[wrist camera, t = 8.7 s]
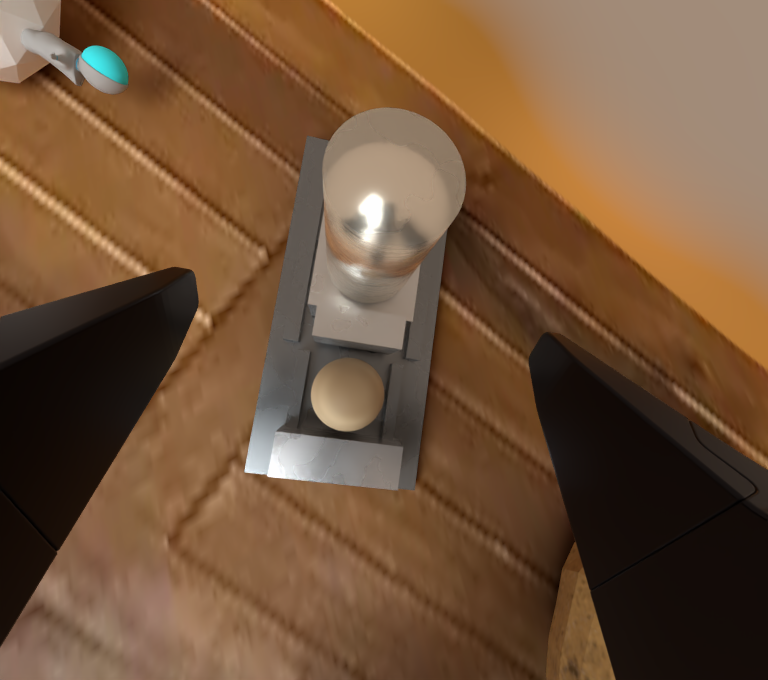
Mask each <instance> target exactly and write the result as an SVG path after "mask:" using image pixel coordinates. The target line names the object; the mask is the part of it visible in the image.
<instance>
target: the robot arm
mask: <svg viewBox="0 0 768 680" xmlns="http://www.w3.org/2000/svg"><path fill="white" fill-rule="evenodd" d="M198 302H199V300H198V292H197V285H196V278H195V274H194V272H193V271H192V270H190V269H185V268H179V267H171V268H167V269H164V270H160V271H157V272H154V273H150V274H147V275H143V276H140V277H136V278H133V279H129V280H126V281H122V282H119V283H115V284H112V285H109V286H105V287H102V288H98V289H95V290H91V291H88V292H84V293H81V294H77V295H74V296H71V297H67V298H64V299H60V300H57V301H53V302H50V303H46V304H43V305H39V306H36V307H32V308H29V309H26V310H22V311H19V312H15V313H12V314H8V315H5V316H2V317H1V318H0V647H1V645H2V644H3V642H4V641H5V639H6V637H7V636H8V634H9V632H10V631H11V629H12V627H13V626H14V624H15V622H16V621H17V619H18V617H19V616H20V614H21V613H22V611H23V609H24V608H25V606H26V604H27V603H28V601H29V599H30V598H31V596H32V594H33V593H34V591H35V590H36V588H37V586H38V585H39V583H40V581H41V580H42V578H43V576H44V575H45V573H46V571H47V570H48V568H49V566H50V565H51V563H52V562H53V560H54V558H55V557H56V555H57V551H58V550H59V549H60V548H61V546H62V544H63V543H64V541H65V540H66V538H67V536H68V535H69V533H70V531H71V530H72V528H73V526H74V525H75V523H76V521H77V520H78V518H79V517H80V515H81V513H82V512H83V510H84V508H85V507H86V505H87V503H88V502H89V500H90V498H91V497H92V495H93V493H94V492H95V490H96V489H97V487H98V485H99V484H100V482H101V480H102V479H103V477H104V475H105V474H106V472H107V470H108V469H109V467H110V466H111V464H112V462H113V461H114V459H115V457H116V456H117V454H118V452H119V451H120V449H121V447H122V446H123V444H124V442H125V441H126V439H127V438H128V436H129V434H130V433H131V431H132V429H133V428H134V426H135V424H136V423H137V421H138V419H139V418H140V416H141V414H142V413H143V411H144V410H145V408H146V406H147V405H148V403H149V401H150V400H151V398H152V396H153V395H154V393H155V391H156V390H157V388H158V387H159V385H160V383H161V382H162V380H163V378H164V377H165V375H166V373H167V372H168V370H169V368H170V367H171V365H172V363H173V362H174V360H175V358H176V356H177V354H178V352H179V350H180V347H181V345H182V343H183V340H184V338H185V336H186V334H187V331H188V329H189V327H190V324H191V322H192V320H193V318H194V315H195V313H196V311H197V308H198ZM529 367H530V373H531V379H532V385H533V391H534V396H535V402H536V407H537V412H538V415H539V419H540V423H541V426H542V429H543V433H544V436H545V440H546V443H547V446H548V450H549V453H550V457H551V460H552V463H553V467H554V470H555V474H556V477H557V481H558V484H559V487H560V491H561V494H562V498H563V501H564V504H565V508H566V511H567V515H568V518H569V522H570V525H571V528H572V532H573V535H574V539H575V542H576V545H577V549H578V552H579V556H580V559H581V562H582V566H583V569H584V573H585V576H586V580H587V583H588V586H589V589H590V590H591V591H590V594H591V597H592V601H593V604H594V608H595V611H596V615H597V618H598V621H599V625H600V628H601V632H602V635H603V638H604V642H605V645H606V649H607V652H608V656H609V659H610V662H611V666H612V669H613V673H614V676H615V680H768V470H767V469H765V468H764V467H762V466H760V465H759V464H757V463H756V462H754V461H752V460H751V459H749V458H748V457H746V456H744V455H743V454H741V453H740V452H738V451H736V450H735V449H733V448H732V447H730V446H729V445H727V444H726V443H724V442H723V441H721V440H719V439H718V438H716V437H715V436H713V435H712V434H710V433H709V432H707V431H706V430H704V429H703V428H701V427H700V426H698V425H697V424H695V423H694V422H692V421H688V419H687V418H686V417H685V416H683V415H682V414H680V413H679V412H677V411H676V410H674V409H673V408H671V407H670V406H668V405H667V404H665V403H664V402H662V401H661V400H659V399H658V398H656V397H655V396H653V395H652V394H650V393H649V392H647V391H646V390H644V389H643V388H641V387H640V386H638V385H637V384H635V383H634V382H632V381H631V380H629V379H628V378H626V377H625V376H623V375H622V374H620V373H619V372H617V371H616V370H614V369H613V368H611V367H610V366H608V365H607V364H605V363H604V362H602V361H601V360H599V359H598V358H596V357H595V356H593V355H592V354H590V353H589V352H587V351H586V350H584V349H583V348H581V347H580V346H578V345H577V344H575V343H574V342H572V341H571V340H569V339H568V338H566V337H565V336H563V335H561V334H557V333H551V332H546V333H544V334H543V335H542V336H541V338H540V339H539V341H538V342H537V344H536V346H535V347H534V349H533V351H532V352H531V354H530V357H529Z"/></svg>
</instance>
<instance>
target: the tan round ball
mask: <svg viewBox="0 0 768 680" xmlns="http://www.w3.org/2000/svg"><path fill="white" fill-rule="evenodd" d="M311 401H312V406H313V408H314V411H315V413H316V415H317V416H318V417H319V419H320V420H321V421H322V422H323V423H324V424H326V425H327V426H329V427H330V428H333V429H335V430H339V431H355V430H359V429H361V428H364V427H365V426H367V425H369V424H370V423H371V422H372V421H373V420H374V419H375V418H376V417H377V415H378V414H379V412H380V410H381V408H382V405H383V402H384V386H383V382H382V380H381V378H380V376H379V374H378V373H377V371H376V370H375V369H374V368H373V367H372V366H371V365H369V364H368V363H366V362H364V361H362V360H360V359H356V358H340V359H337V360H334V361H332V362H330V363H328V364H327V365H325V366H324V367H323V368H322V369H321V370H320V371H319V373H318V374H317V376H316V377H315V379H314V381H313V385H312V389H311Z"/></svg>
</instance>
